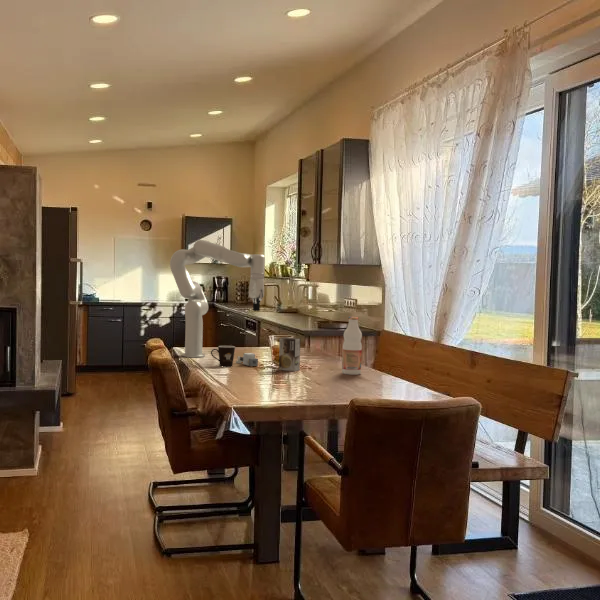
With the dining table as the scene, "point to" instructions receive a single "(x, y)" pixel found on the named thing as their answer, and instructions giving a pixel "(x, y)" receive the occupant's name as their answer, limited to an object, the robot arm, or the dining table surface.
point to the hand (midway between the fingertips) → (256, 310)
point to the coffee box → (289, 354)
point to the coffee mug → (225, 355)
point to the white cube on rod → (247, 357)
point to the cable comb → (238, 360)
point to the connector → (252, 362)
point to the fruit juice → (352, 348)
